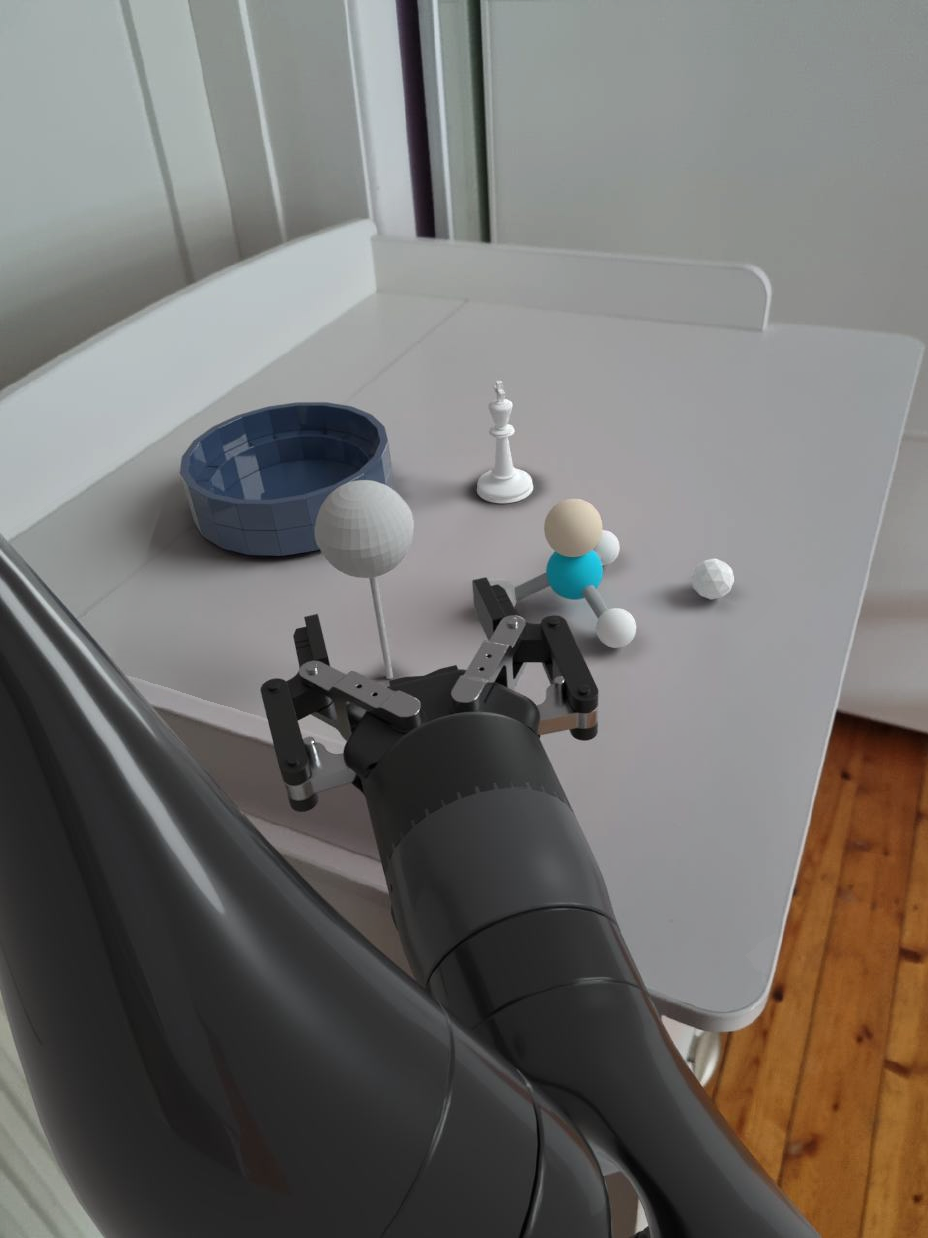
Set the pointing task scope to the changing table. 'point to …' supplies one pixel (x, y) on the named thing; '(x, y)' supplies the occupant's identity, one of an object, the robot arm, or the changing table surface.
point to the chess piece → (503, 458)
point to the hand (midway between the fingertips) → (397, 610)
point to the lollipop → (365, 537)
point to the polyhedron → (712, 578)
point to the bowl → (279, 473)
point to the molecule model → (579, 567)
